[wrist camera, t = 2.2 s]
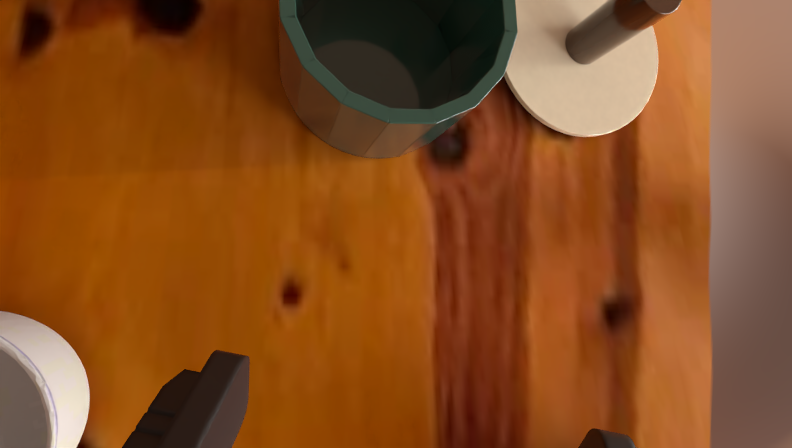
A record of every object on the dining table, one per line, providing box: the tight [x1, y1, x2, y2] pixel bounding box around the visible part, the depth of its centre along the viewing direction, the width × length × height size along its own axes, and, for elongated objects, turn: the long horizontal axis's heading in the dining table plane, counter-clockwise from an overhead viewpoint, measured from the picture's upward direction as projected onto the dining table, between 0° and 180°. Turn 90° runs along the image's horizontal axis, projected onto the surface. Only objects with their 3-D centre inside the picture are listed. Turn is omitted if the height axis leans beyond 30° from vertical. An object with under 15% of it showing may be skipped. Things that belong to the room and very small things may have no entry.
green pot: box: [278, 0, 518, 158], centre depth 28 cm, size 13×13×8 cm
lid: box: [504, 0, 681, 137], centre depth 31 cm, size 14×14×9 cm
